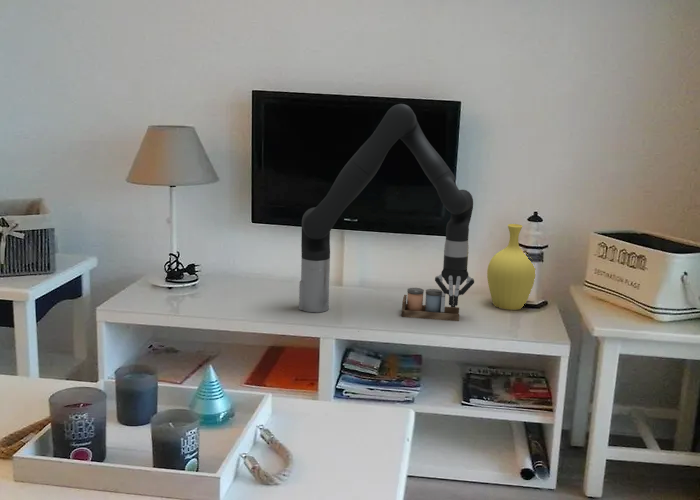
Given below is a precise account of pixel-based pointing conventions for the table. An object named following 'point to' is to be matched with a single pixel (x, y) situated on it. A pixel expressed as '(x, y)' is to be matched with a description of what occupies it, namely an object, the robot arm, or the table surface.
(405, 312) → the wooden tray
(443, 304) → the paddle
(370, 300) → the table surface
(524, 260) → the vase
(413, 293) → the jar
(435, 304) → the jar
